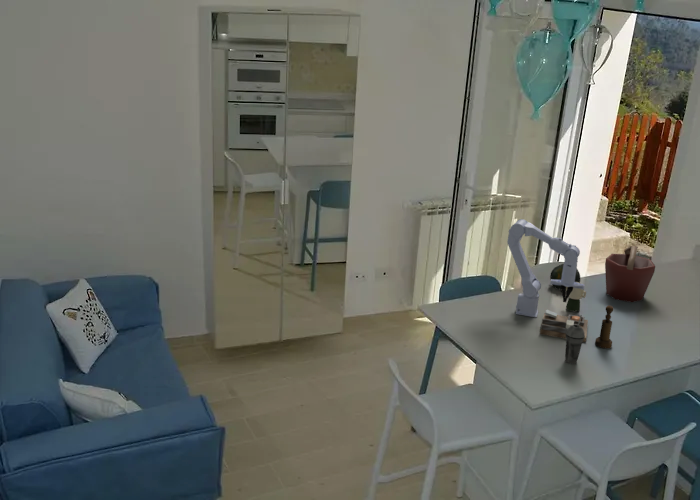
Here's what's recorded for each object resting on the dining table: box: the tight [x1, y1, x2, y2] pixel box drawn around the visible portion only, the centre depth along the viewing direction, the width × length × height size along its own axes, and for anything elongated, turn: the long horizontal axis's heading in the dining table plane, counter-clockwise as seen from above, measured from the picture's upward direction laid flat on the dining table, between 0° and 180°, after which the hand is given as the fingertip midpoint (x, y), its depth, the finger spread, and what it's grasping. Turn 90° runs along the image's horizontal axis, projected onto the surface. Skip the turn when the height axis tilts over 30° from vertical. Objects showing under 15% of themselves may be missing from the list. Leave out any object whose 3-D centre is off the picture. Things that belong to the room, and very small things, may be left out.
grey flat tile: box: [544, 309, 558, 318], centre depth 311 cm, size 5×4×1 cm
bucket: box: [604, 245, 656, 303], centre depth 341 cm, size 24×22×25 cm
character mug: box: [565, 282, 587, 312], centre depth 323 cm, size 11×7×13 cm, turn 38°
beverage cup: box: [564, 314, 585, 365], centre depth 272 cm, size 7×7×20 cm
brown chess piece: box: [594, 304, 614, 350], centre depth 287 cm, size 7×6×18 cm
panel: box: [539, 312, 589, 343], centre depth 303 cm, size 19×20×4 cm
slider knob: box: [566, 320, 574, 329], centre depth 297 cm, size 3×5×4 cm, turn 160°
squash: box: [549, 263, 581, 291], centre depth 350 cm, size 14×15×15 cm
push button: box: [571, 315, 581, 322], centre depth 307 cm, size 4×4×2 cm
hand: (564, 301), depth 309 cm, fingers closed
